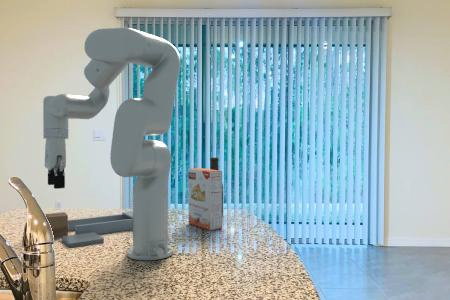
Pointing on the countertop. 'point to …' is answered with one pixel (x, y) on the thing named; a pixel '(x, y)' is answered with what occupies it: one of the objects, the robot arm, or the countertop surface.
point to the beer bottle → (215, 167)
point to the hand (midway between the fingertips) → (56, 186)
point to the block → (58, 223)
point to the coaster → (82, 239)
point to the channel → (102, 224)
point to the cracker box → (205, 198)
